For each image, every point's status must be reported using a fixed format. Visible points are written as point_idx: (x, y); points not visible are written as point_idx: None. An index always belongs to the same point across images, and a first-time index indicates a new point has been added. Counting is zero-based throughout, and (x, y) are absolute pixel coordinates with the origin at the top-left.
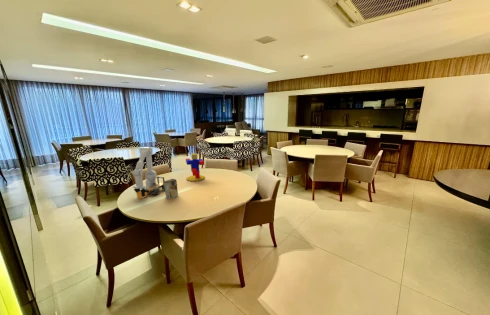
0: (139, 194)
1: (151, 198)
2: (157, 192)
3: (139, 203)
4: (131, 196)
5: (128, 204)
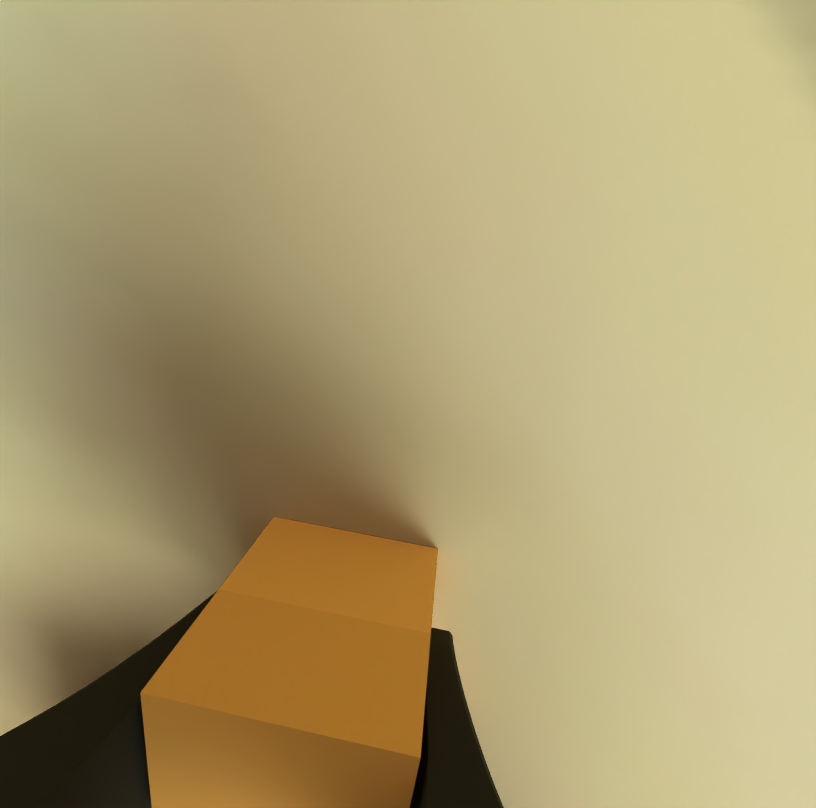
0: (278, 640)
1: (40, 552)
2: None
3: (63, 206)
4: (709, 626)
5: (374, 22)
